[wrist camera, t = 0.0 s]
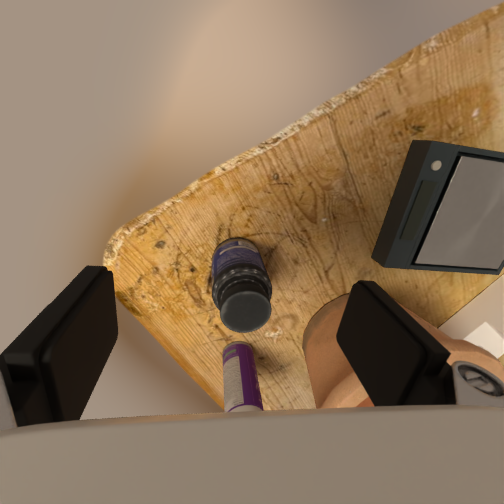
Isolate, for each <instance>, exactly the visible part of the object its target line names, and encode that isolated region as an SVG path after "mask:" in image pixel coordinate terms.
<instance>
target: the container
mask: <svg viewBox="0 0 504 504" xmlns="http://www.w3.org/2000/svg"><path fill="white" fill-rule="evenodd" d="M223 380H224V407H225V412H245V411H264V410H263V405H262V399H261V393H260V388H259V382H258V377H257V371H256V365H255V360H254V354H253V349H252V347H251V346H250V345H249V344H248V343H246V342H241V341H237V342H233V343H230V344H229V345H227V346H226V347H225V348H224V350H223Z"/></svg>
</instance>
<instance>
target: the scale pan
mask: <svg viewBox="0 0 504 504" xmlns="http://www.w3.org/2000/svg"><path fill="white" fill-rule="evenodd" d="M503 260H504V163H502V162H496V161H490V160H483V159H477V158H471V157H465V156H456V158H455V161H454V163H453V165H452V168H451V170H450V172H449V175H448V177H447V179H446V182H445V184H444V187H443V189H442V191H441V194H440V196H439V198H438V201H437V203H436V205H435V208H434V210H433V212H432V215H431V217H430V219H429V222H428V224H427V226H426V229H425V231H424V233H423V236H422V238H421V240H420V243H419V245H418V247H417V250H416V252H415V254H414V257H413V259H412V261H413V262H414V263H421V264H435V265H449V266H463V267H478V268H492V269H498V268H499V266H500V265H501V263H502V261H503Z"/></svg>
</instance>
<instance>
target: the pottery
mask: <svg viewBox="0 0 504 504" xmlns="http://www.w3.org/2000/svg"><path fill="white" fill-rule="evenodd" d="M349 295H350V294H346V295H343V296H341V297H339V298H337V299H335V300H334V301H332V302H330V303H328V304H326V305H325V306H324V307H323V308H322V309H321V310H320V311H319V312H318V313H317V314H316V315H315V316H314V317H313V318H312V319H311V320H310V322H309V324H308V326H307V328H306V330H305V332H304V335H303V346H302V348H303V351H304V355H305V360H306V364H307V368H308V373H309V377H310V382H311V386H312V390H313V395H314V399H315V403H316V408H317V409H320V408H346V407H375V406H374V404H373V403H372V401H371V399H370V398H369V396H368V394H367V392H366V391H365V389H364V387H363V386H362V384H361V382H360V380H359V379H358V377H357V375H356V374H355V372H354V370H353V369H352V367H351V365H350V363H349V362H348V360H347V358H346V357H345V355H344V353H343V351H342V350H341V348H340V346H339V345H338V343H337V340H336V333H337V330H338V327H339V324H340V321H341V318H342V316H343V313H344V310H345V307H346V304H347V301H348V298H349ZM392 299H393V298H392ZM394 300H395V299H394ZM395 301H396V300H395ZM396 302H397V301H396ZM397 303H398V302H397ZM398 304H399V305H400V306H401V307H402V308H403V309H404V310H405V311H406V312H407V313H409V314H410V315H411V316H412V317H413V318H414V319H415V320H416V321H417V322H418V323H419V324H420V325H421V326H422V327H424V328H425V329H426V330H427V331H428V332H429V333H430V334H431V335H432V336H433V337H434V338H435V339H436V340H437V341H439V342H440V343H441V344H442V345H443V346H444V347H445V348H446V349H447V350H448V351H449V352H450V353H451V355H450V357H449V358H448V360H447V363H448V364H449V365H450V366H451V365H452V363H454V362H455V361H460V360H462V361H467V362H471V363H474V364H476V365H478V366H481V367H483V368H485V369H486V370H488V371H489V372H491V373H493V374H494V375H495V376H497V377H498V378H499V379H500V380H502V382H503V383H504V368H503V366H502V364H501V363H500V361H499V359H497V358H496V357H495V356H494V355H492V354H491V353H490V352H489V351H487V350H485V349H483V348H481V347H478V346H476V345H474V344H472V343H470V342H468V341H466V340H460V339H452V338H451V337H449V336H448V335H446V334H445V333H443V332H442V331H440V330H439V329H437V328H436V327H434V326H433V325H431V324H430V323H428V322H427V321H425V320H424V319H422V318H421V317H419V316H418V315H416V314H415V313H413V312H412V311H410V310H409V309H407V308H406V307H404V306H403V305H401V304H400V303H398Z"/></svg>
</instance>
